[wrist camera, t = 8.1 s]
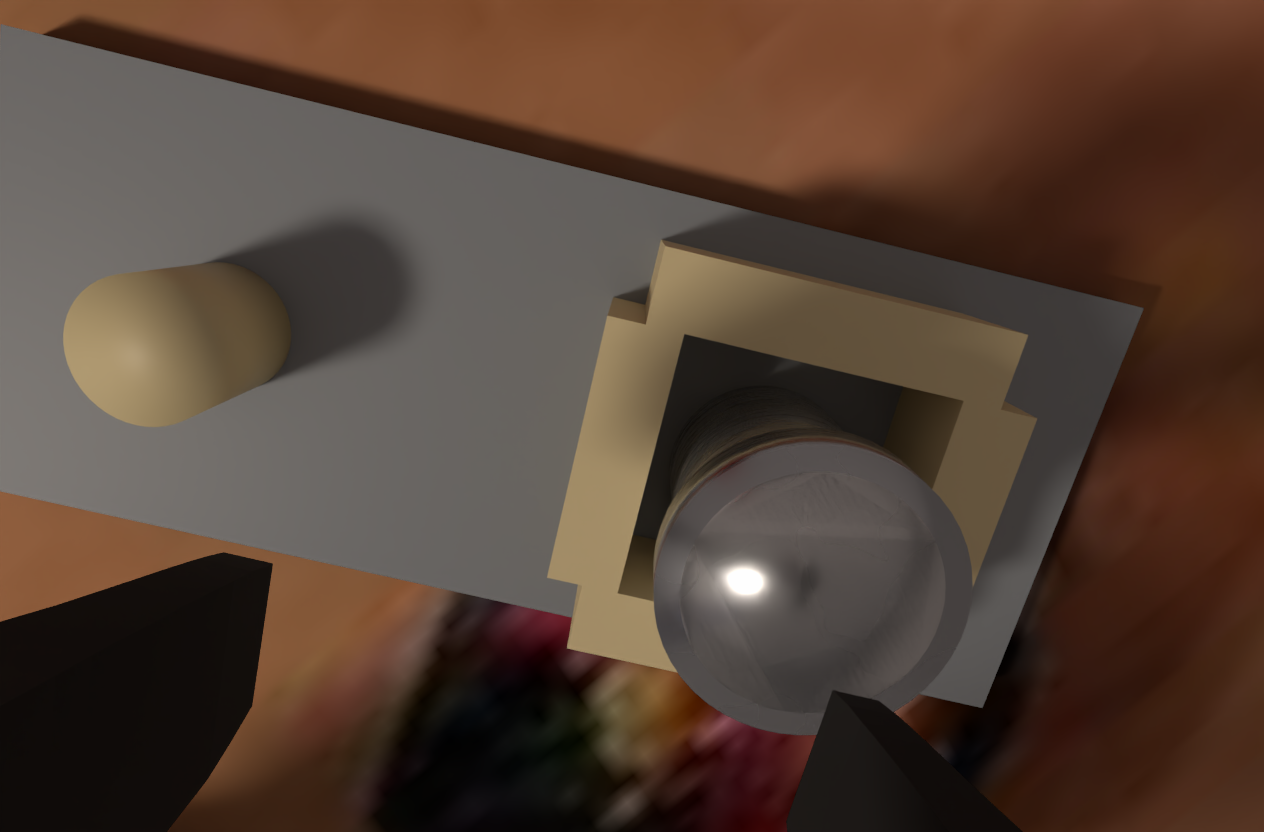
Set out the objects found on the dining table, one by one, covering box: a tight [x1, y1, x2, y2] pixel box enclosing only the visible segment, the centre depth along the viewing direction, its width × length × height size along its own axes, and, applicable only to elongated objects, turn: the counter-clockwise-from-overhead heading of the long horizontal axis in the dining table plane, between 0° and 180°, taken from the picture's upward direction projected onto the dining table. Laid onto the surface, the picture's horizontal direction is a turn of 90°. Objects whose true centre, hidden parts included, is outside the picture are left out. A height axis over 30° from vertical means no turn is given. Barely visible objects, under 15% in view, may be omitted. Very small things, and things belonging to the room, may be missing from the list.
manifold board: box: [0, 24, 1144, 708], centre depth 16 cm, size 10×24×4 cm, turn 77°
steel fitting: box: [653, 385, 973, 735], centre depth 15 cm, size 5×5×6 cm
